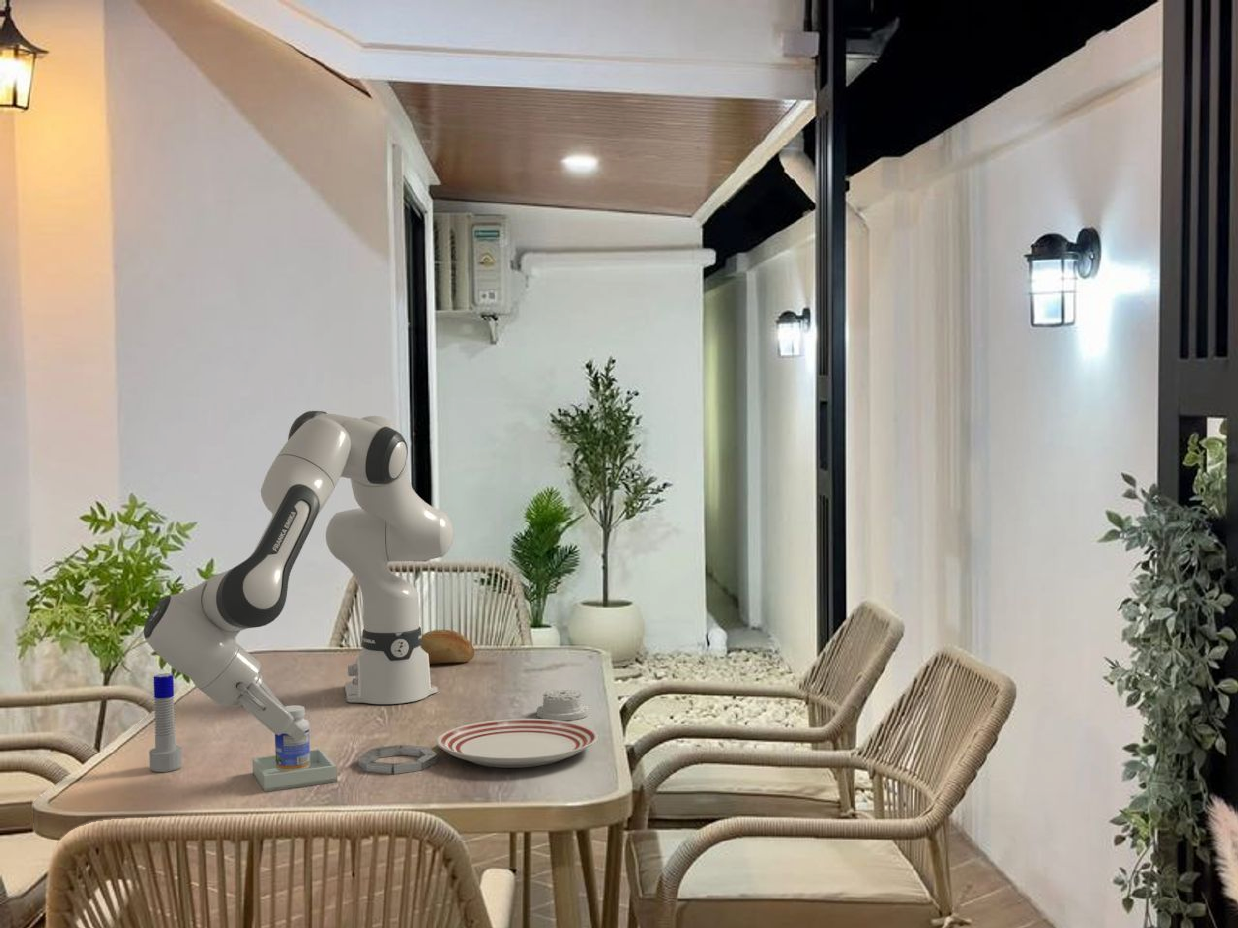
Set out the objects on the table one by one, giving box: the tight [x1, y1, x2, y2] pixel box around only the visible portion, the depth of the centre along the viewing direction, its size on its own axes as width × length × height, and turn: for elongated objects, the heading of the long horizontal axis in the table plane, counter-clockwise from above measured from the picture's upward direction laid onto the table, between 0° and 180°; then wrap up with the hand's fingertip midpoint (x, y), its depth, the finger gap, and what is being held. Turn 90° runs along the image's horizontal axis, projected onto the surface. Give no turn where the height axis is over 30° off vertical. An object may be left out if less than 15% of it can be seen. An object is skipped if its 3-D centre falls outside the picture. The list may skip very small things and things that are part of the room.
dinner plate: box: [436, 718, 599, 769], centre depth 207 cm, size 27×27×3 cm
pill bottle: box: [274, 705, 311, 772], centre depth 195 cm, size 5×5×10 cm
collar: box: [357, 744, 438, 775], centre depth 202 cm, size 12×12×1 cm
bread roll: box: [420, 629, 475, 665], centre depth 281 cm, size 10×15×8 cm, turn 97°
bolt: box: [148, 672, 183, 773], centre depth 200 cm, size 16×5×5 cm
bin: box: [251, 748, 338, 793], centre depth 195 cm, size 11×11×2 cm
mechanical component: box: [536, 689, 590, 722], centre depth 233 cm, size 10×4×10 cm
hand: (297, 731), depth 195 cm, fingers closed on pill bottle, 5 cm apart
